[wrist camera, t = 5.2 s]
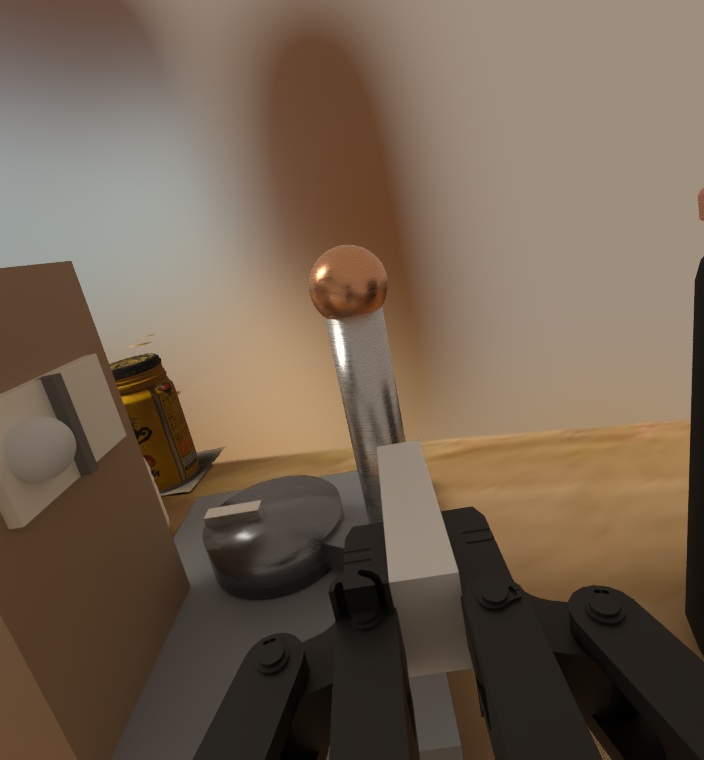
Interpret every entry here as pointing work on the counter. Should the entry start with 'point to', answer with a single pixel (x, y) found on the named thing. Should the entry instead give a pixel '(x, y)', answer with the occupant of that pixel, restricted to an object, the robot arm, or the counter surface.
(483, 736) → the counter surface
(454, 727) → the stand
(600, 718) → the robot arm
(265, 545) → the ball top joystick
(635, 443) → the counter surface
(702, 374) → the coffee jar
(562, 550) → the counter surface
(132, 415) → the condiment
